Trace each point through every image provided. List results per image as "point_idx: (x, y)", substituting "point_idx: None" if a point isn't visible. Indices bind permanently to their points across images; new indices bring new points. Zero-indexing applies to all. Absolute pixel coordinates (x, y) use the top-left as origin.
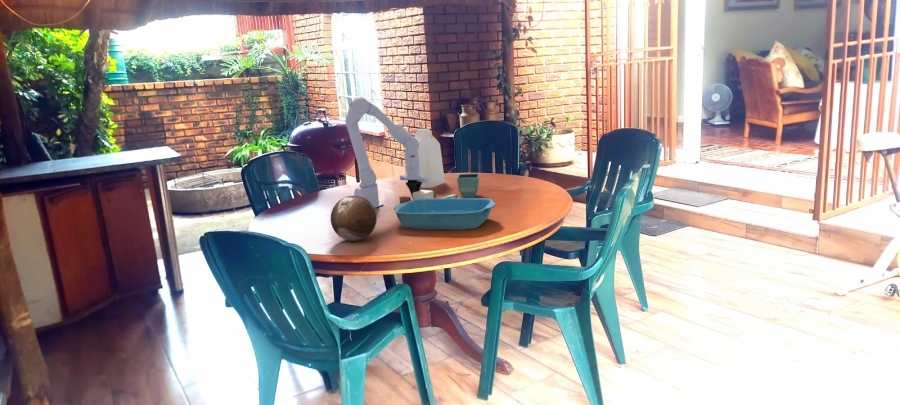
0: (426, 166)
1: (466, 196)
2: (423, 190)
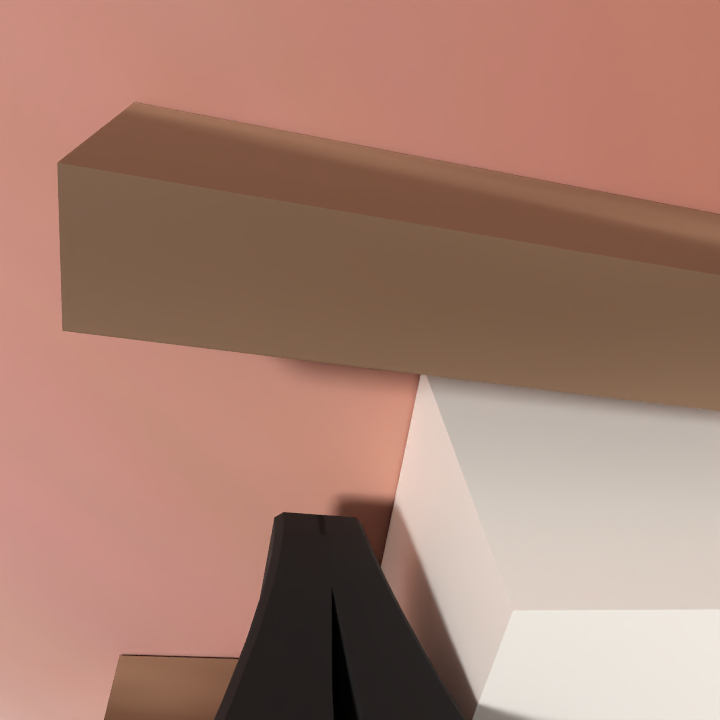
0: None
1: None
2: (627, 655)
